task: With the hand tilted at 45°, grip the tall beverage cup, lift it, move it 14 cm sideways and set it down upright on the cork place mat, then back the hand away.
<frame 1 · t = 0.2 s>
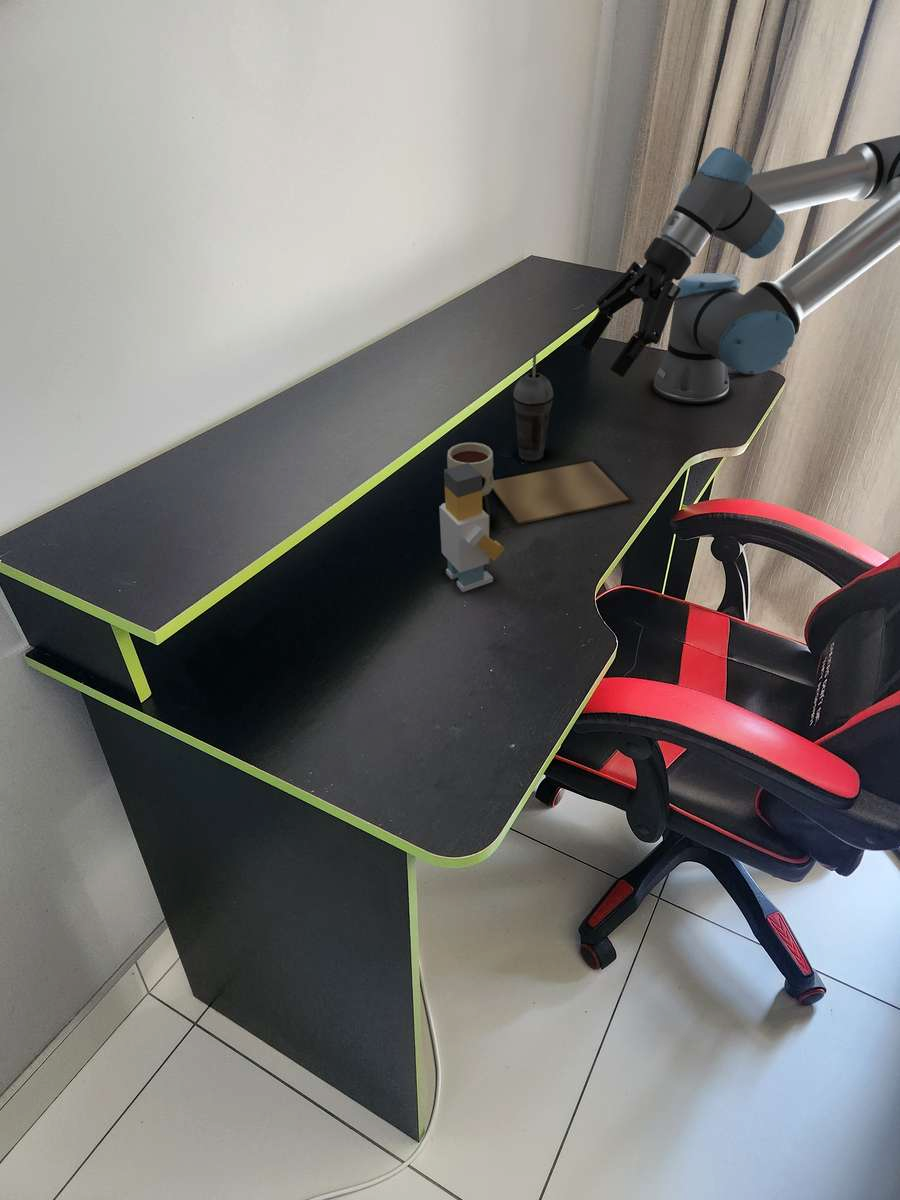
hand: (599, 359, 138), 16 cm above the table, tool tilted 35°, fingers open, 13 cm apart
character mug: (471, 524, 128), on the table
character figure: (470, 580, 116), on the table
cork mat: (556, 492, 134), on the table
beverage cup: (531, 455, 145), on the table
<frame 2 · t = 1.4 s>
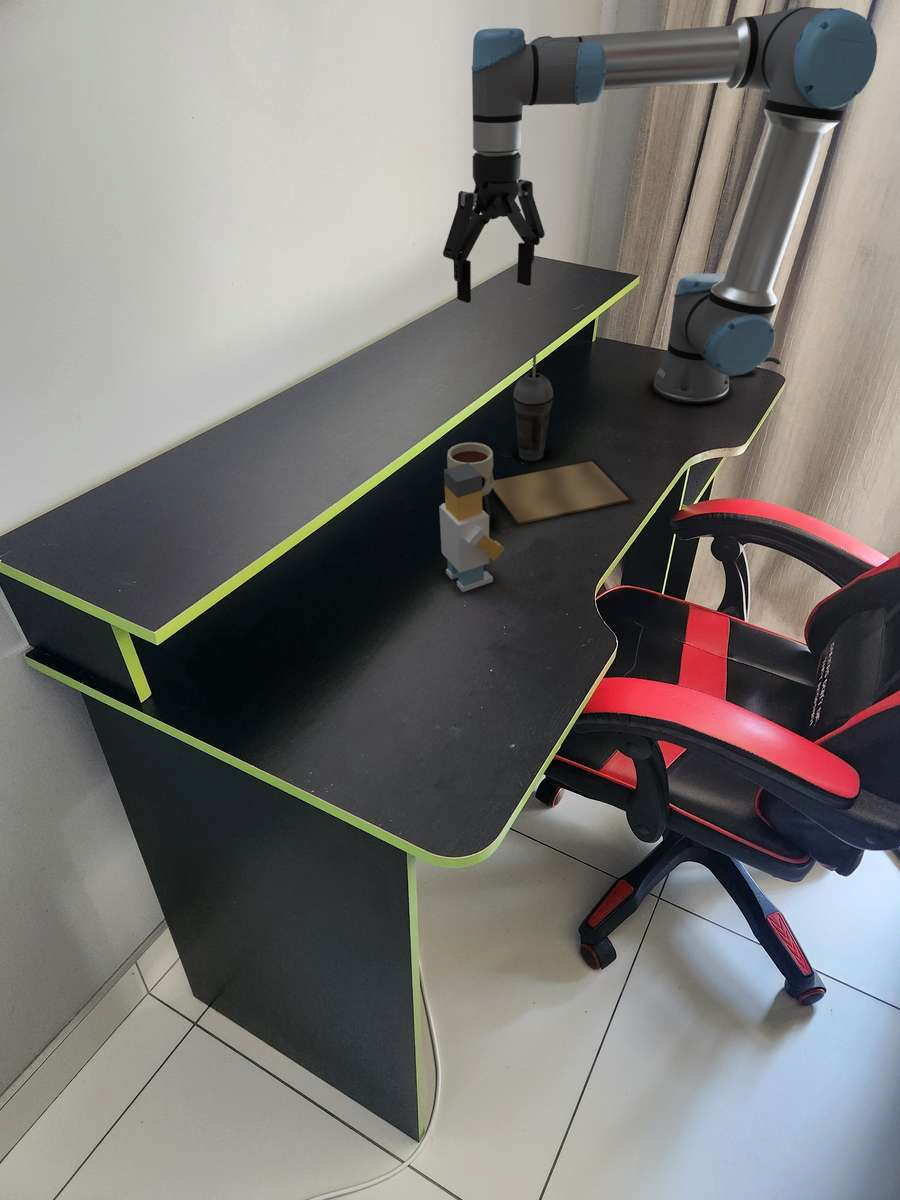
hand: (494, 292, 134), 27 cm above the table, tool pointing down, fingers open, 13 cm apart
nothing on the table moved.
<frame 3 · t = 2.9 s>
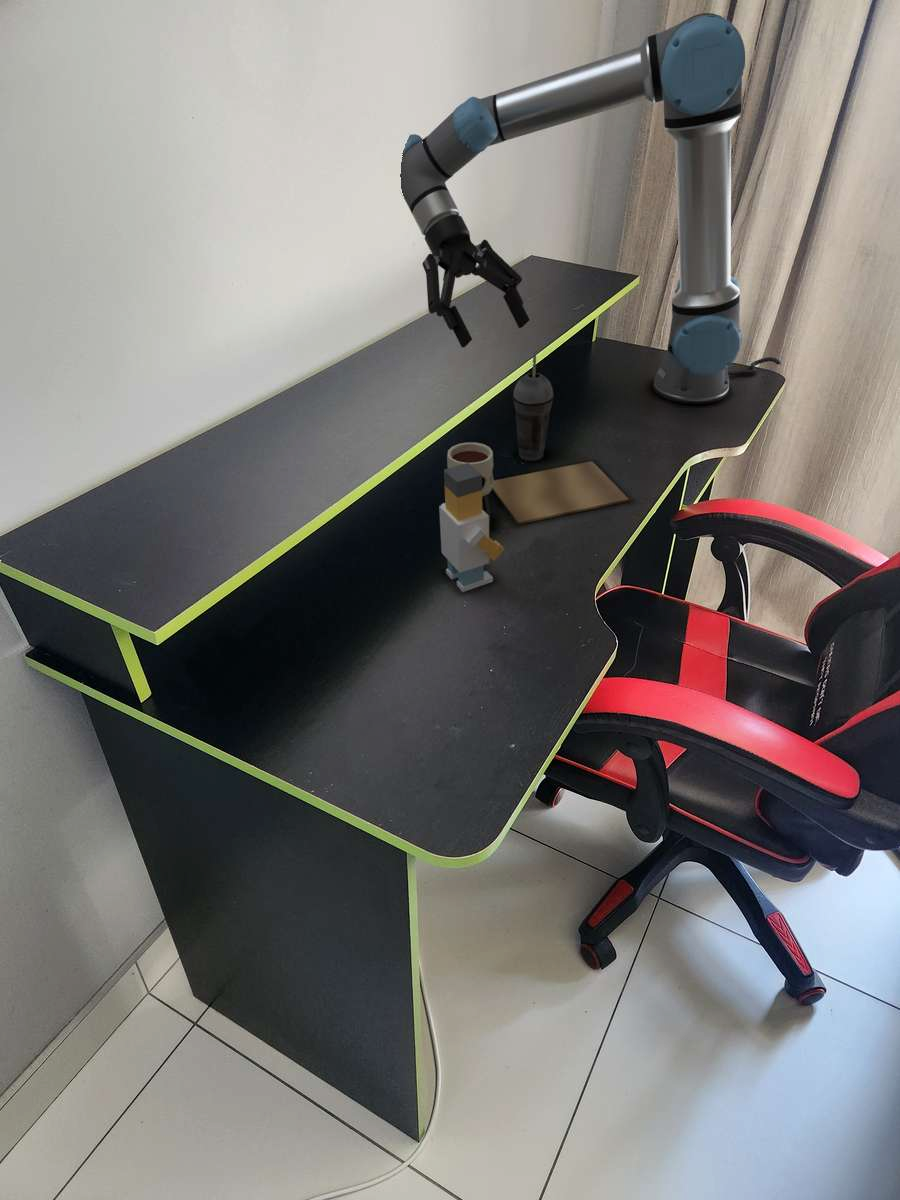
hand: (496, 333, 139), 20 cm above the table, tool tilted 45°, fingers open, 13 cm apart
nothing on the table moved.
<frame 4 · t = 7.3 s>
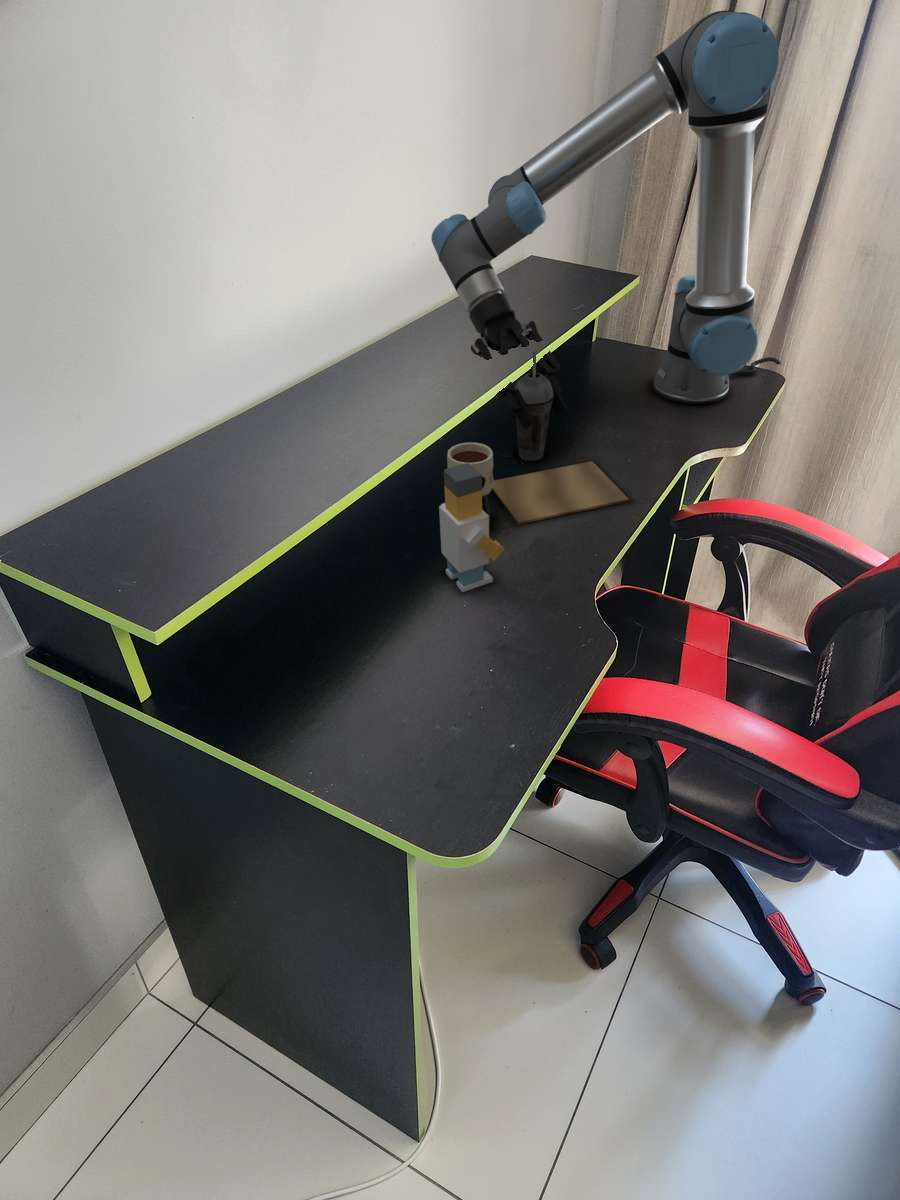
hand: (546, 418, 137), 9 cm above the table, tool tilted 45°, fingers closed on beverage cup, 7 cm apart
beverage cup: (531, 455, 145), on the table, touching gripper
everything else where it was.
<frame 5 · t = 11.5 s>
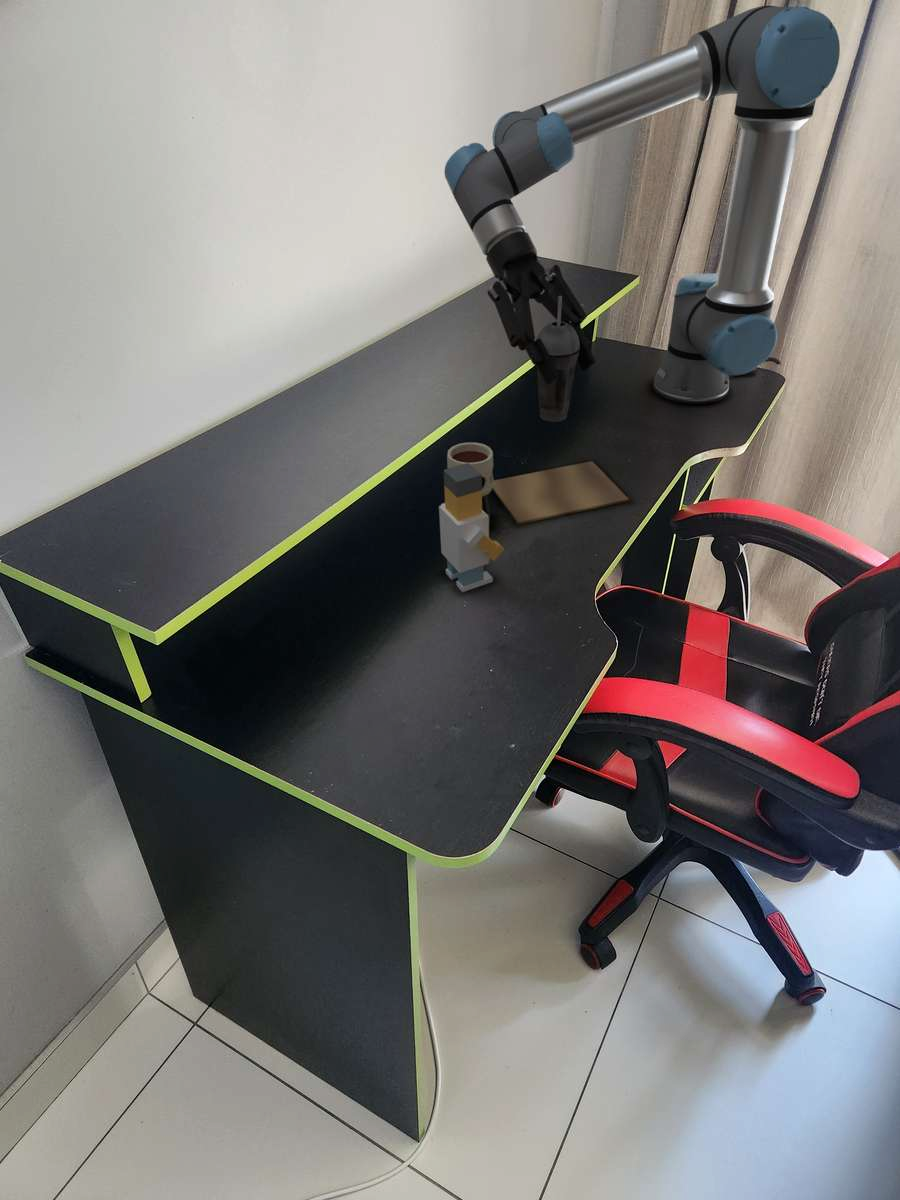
hand: (571, 373, 123), 21 cm above the table, tool tilted 45°, fingers closed on beverage cup, 7 cm apart
beverage cup: (553, 416, 131), point 12 cm above the table, touching gripper
everything else where it was.
when the fingers open (9 cm above the table, at t = 15.7 s): beverage cup stays where it is, resting on cork mat.
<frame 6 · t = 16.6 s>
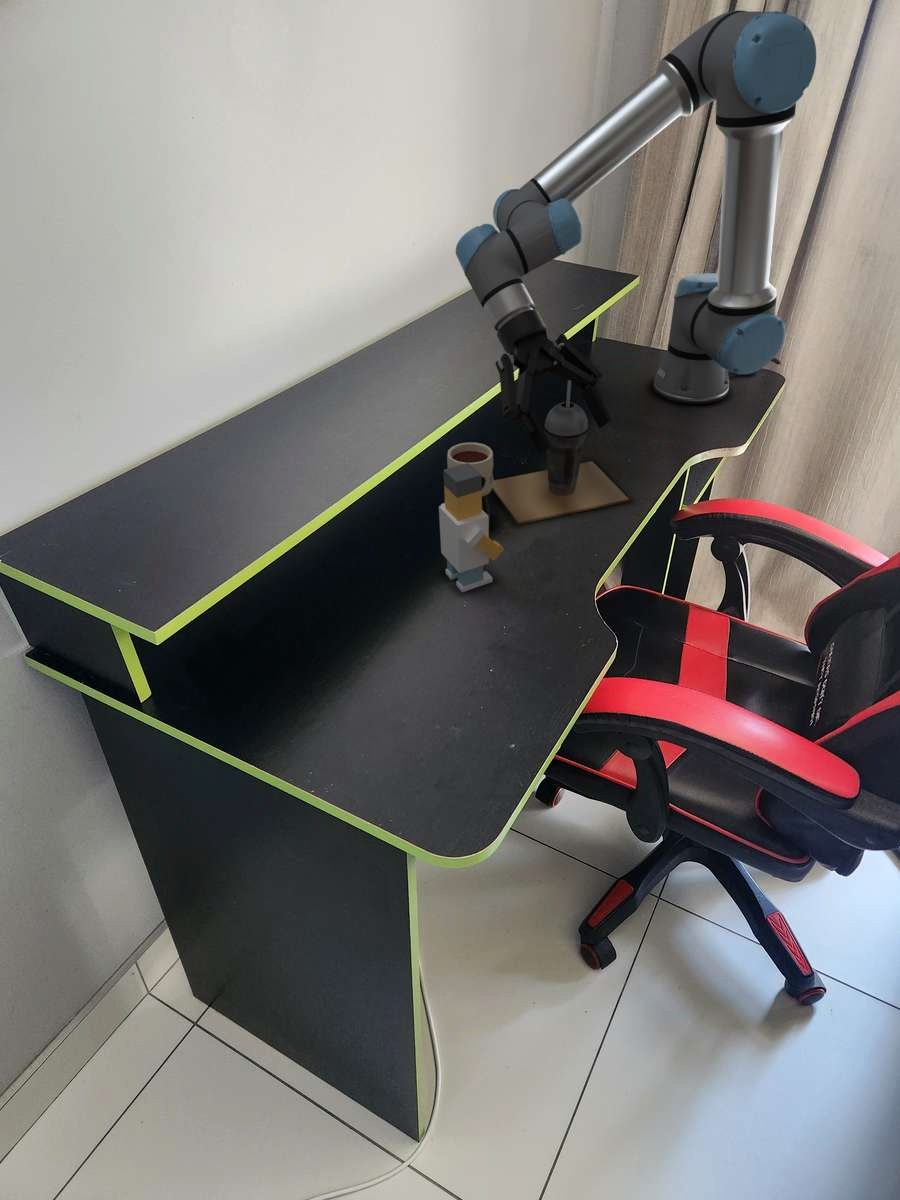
hand: (576, 437, 126), 11 cm above the table, tool tilted 45°, fingers open, 13 cm apart
beverage cup: (561, 489, 134), resting on cork mat
everything else where it was.
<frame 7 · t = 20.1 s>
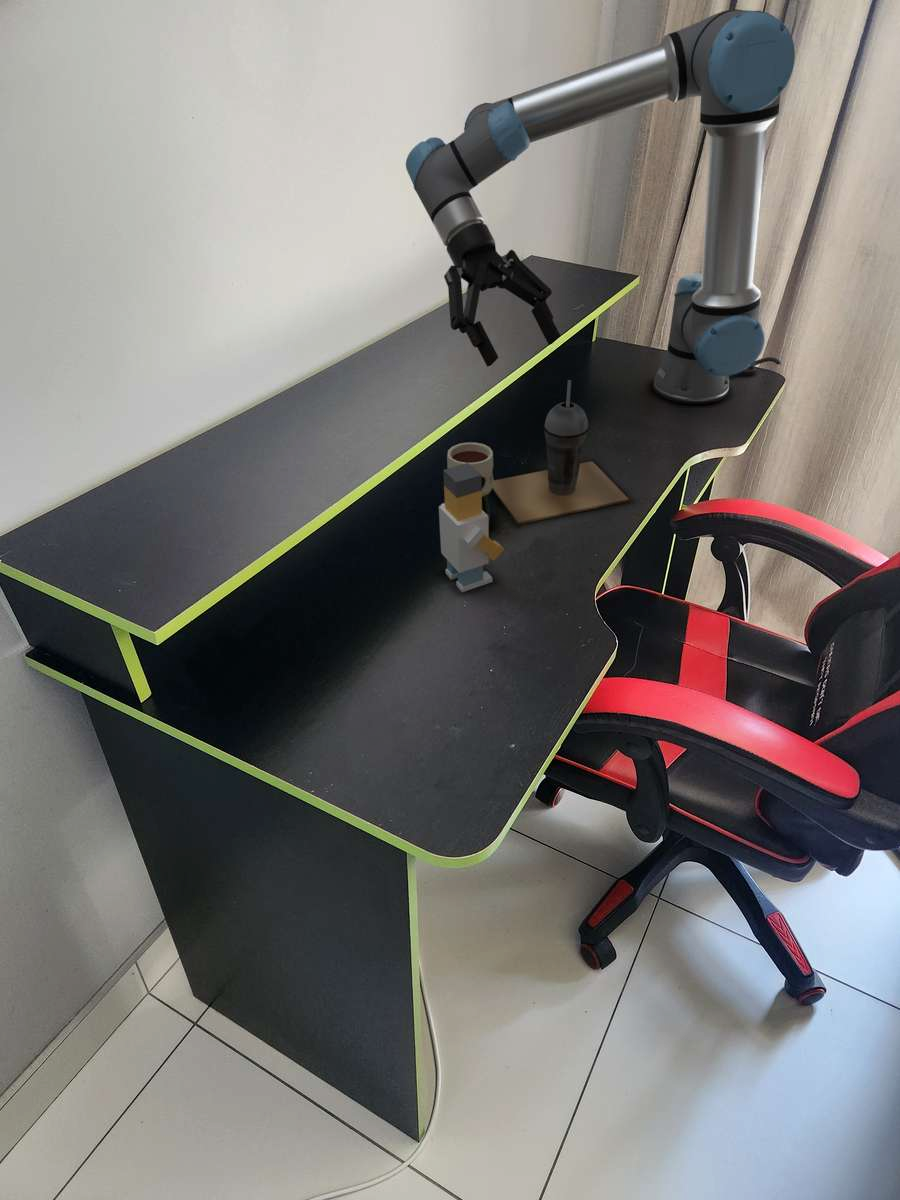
hand: (524, 351, 128), 22 cm above the table, tool tilted 45°, fingers open, 13 cm apart
nothing on the table moved.
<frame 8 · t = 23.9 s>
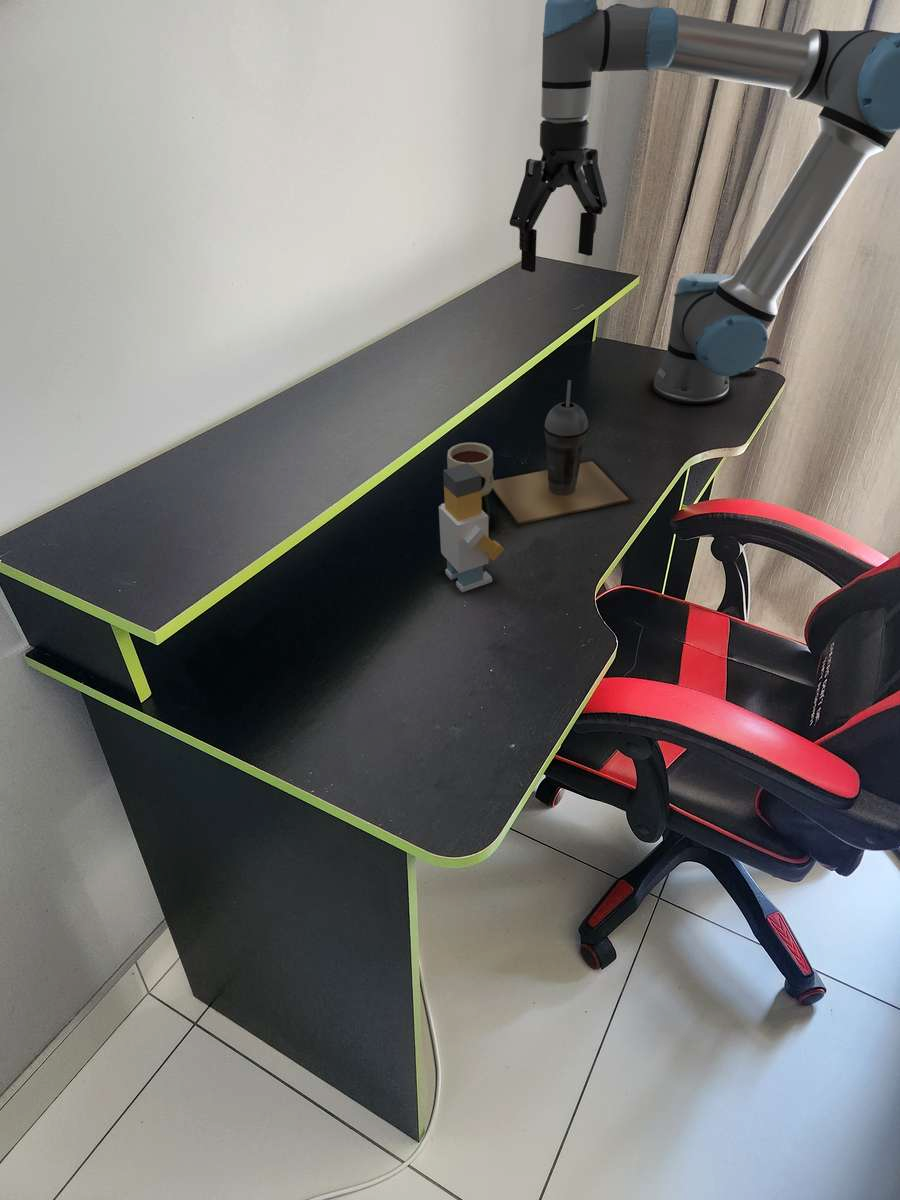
hand: (557, 262, 135), 31 cm above the table, tool pointing down, fingers open, 13 cm apart
nothing on the table moved.
at the end: beverage cup inside the target area (0.5 cm from its centre), resting on cork mat; beverage cup tilted 0°; the gripper is holding nothing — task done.
